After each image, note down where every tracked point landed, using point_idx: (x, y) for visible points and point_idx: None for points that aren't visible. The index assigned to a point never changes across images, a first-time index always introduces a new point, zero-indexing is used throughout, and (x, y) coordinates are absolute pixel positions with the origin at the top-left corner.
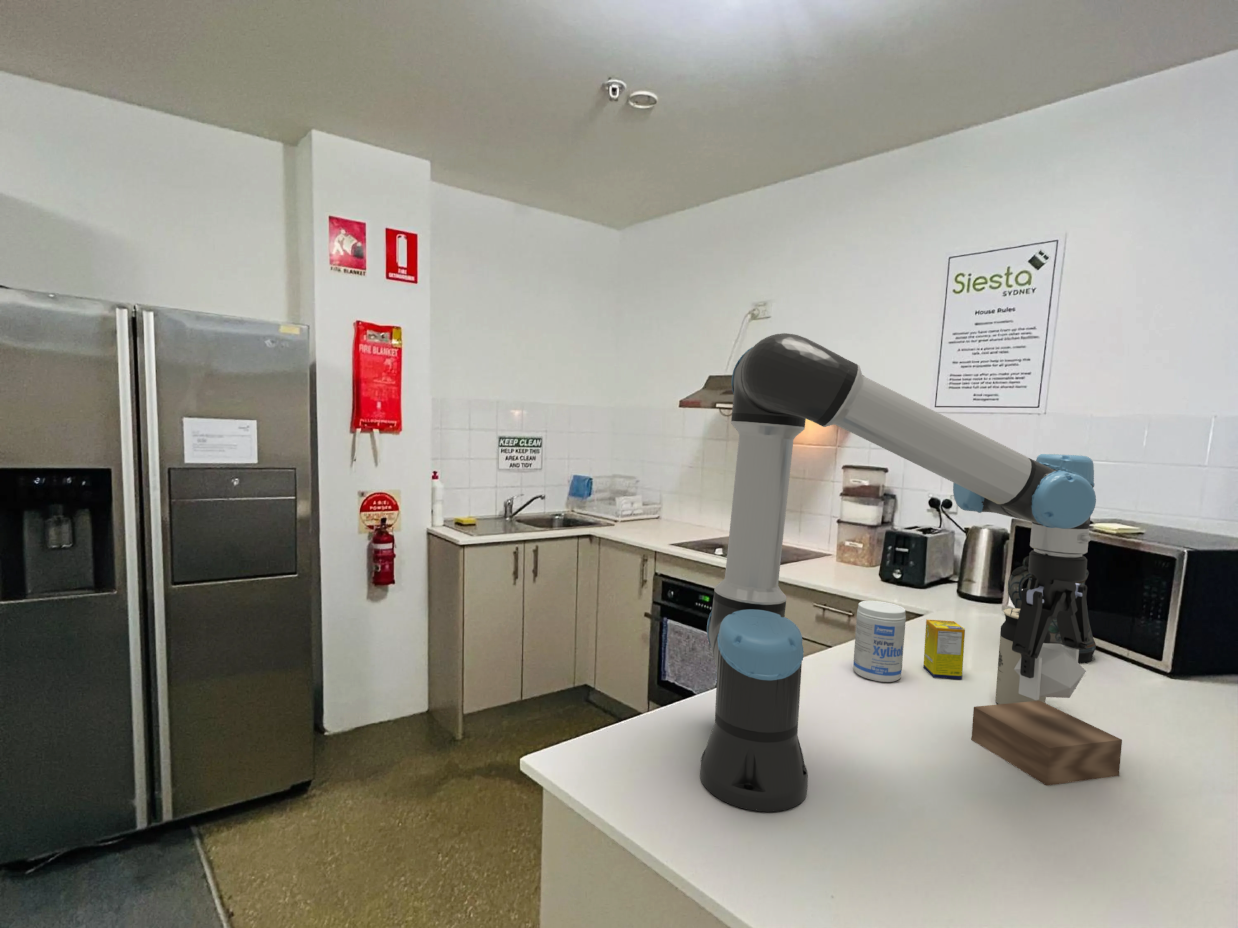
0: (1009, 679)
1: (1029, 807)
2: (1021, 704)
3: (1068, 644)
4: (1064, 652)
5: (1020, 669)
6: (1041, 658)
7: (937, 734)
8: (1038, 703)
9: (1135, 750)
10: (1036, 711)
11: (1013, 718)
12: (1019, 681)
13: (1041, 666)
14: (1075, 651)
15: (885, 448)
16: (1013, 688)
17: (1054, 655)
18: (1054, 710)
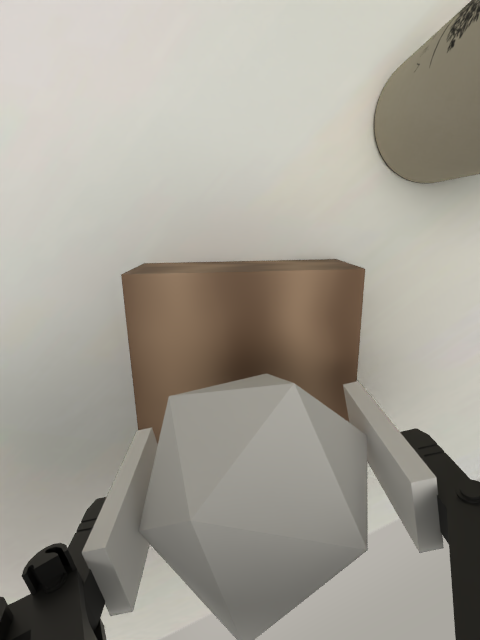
0: (419, 108)
1: (75, 476)
2: (283, 282)
3: (446, 516)
4: (265, 629)
5: (82, 519)
6: (127, 611)
7: (76, 227)
8: (341, 284)
9: (465, 362)
10: (285, 327)
11: (180, 354)
12: (125, 456)
13: (140, 574)
14: (415, 542)
15: None
16: (408, 131)
17: (214, 608)
18: (343, 329)
